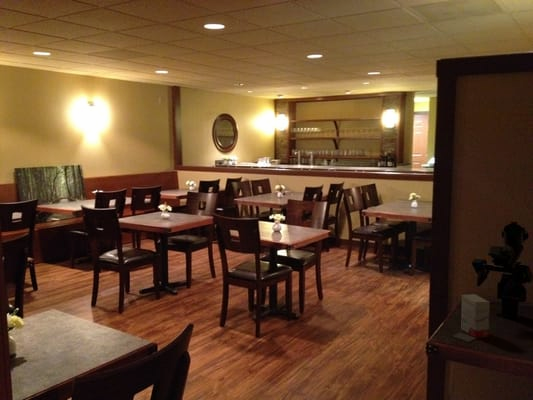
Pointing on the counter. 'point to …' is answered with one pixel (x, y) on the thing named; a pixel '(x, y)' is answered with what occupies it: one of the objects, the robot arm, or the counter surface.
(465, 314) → the ink box
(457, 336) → the mat
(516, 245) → the robot arm
